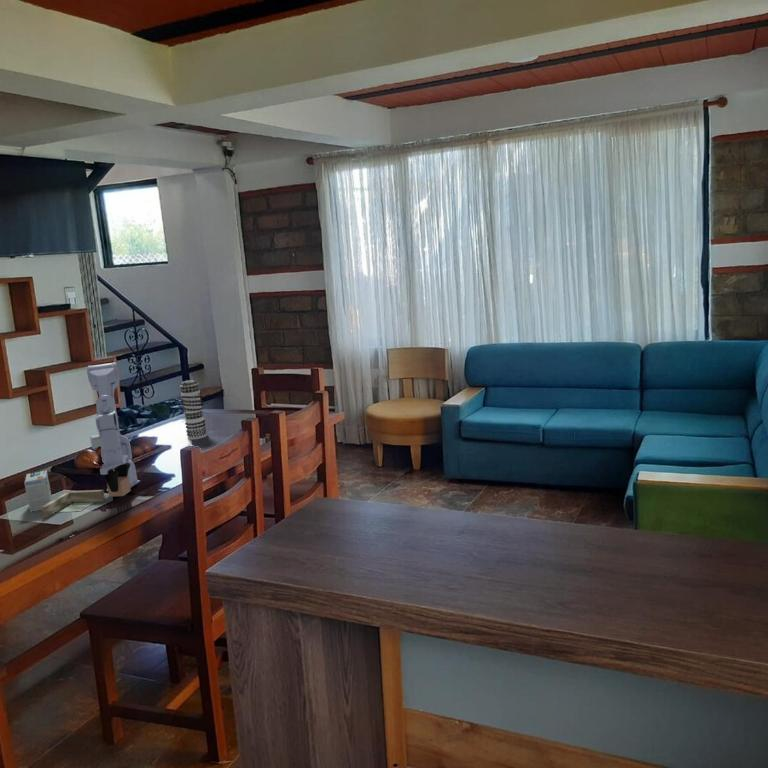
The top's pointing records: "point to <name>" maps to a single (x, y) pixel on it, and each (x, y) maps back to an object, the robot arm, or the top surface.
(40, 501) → the light bulb box
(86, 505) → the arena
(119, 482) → the cube
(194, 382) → the decorative candle
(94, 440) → the skincare box
